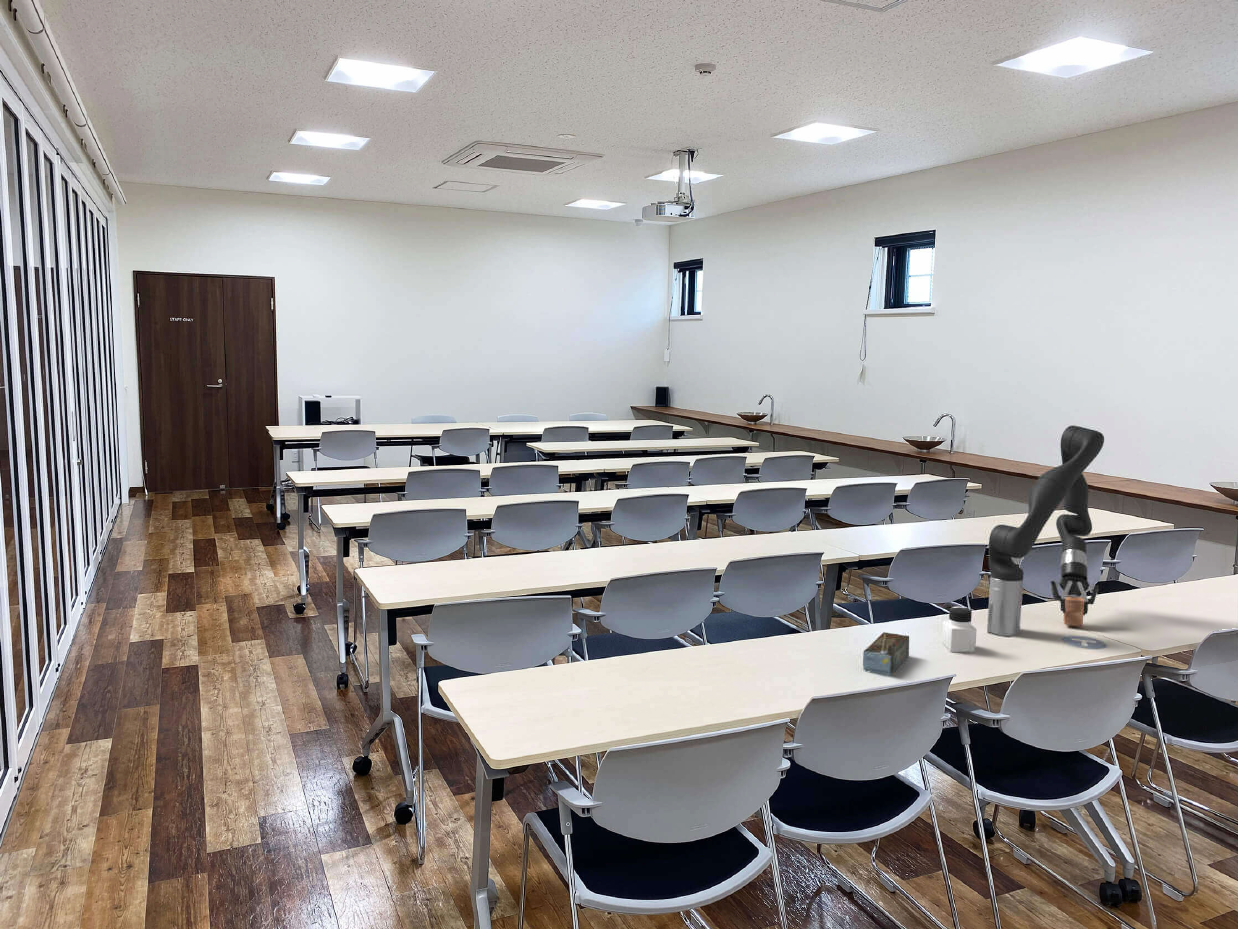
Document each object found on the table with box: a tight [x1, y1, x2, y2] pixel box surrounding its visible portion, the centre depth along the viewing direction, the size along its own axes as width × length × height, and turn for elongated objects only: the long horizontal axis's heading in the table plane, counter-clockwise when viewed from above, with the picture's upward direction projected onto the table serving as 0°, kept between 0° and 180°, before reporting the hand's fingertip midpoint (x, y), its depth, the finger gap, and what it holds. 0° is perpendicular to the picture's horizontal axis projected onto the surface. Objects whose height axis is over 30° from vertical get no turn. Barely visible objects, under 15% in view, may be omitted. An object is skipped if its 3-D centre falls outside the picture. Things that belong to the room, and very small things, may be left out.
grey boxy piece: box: [862, 631, 910, 677], centre depth 242 cm, size 8×19×7 cm, turn 147°
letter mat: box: [1060, 635, 1108, 650], centre depth 260 cm, size 12×12×1 cm
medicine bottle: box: [941, 606, 977, 653], centre depth 254 cm, size 7×7×12 cm
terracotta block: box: [1063, 595, 1084, 627], centre depth 274 cm, size 5×5×8 cm
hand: (1074, 612), depth 272 cm, fingers closed on terracotta block, 4 cm apart
